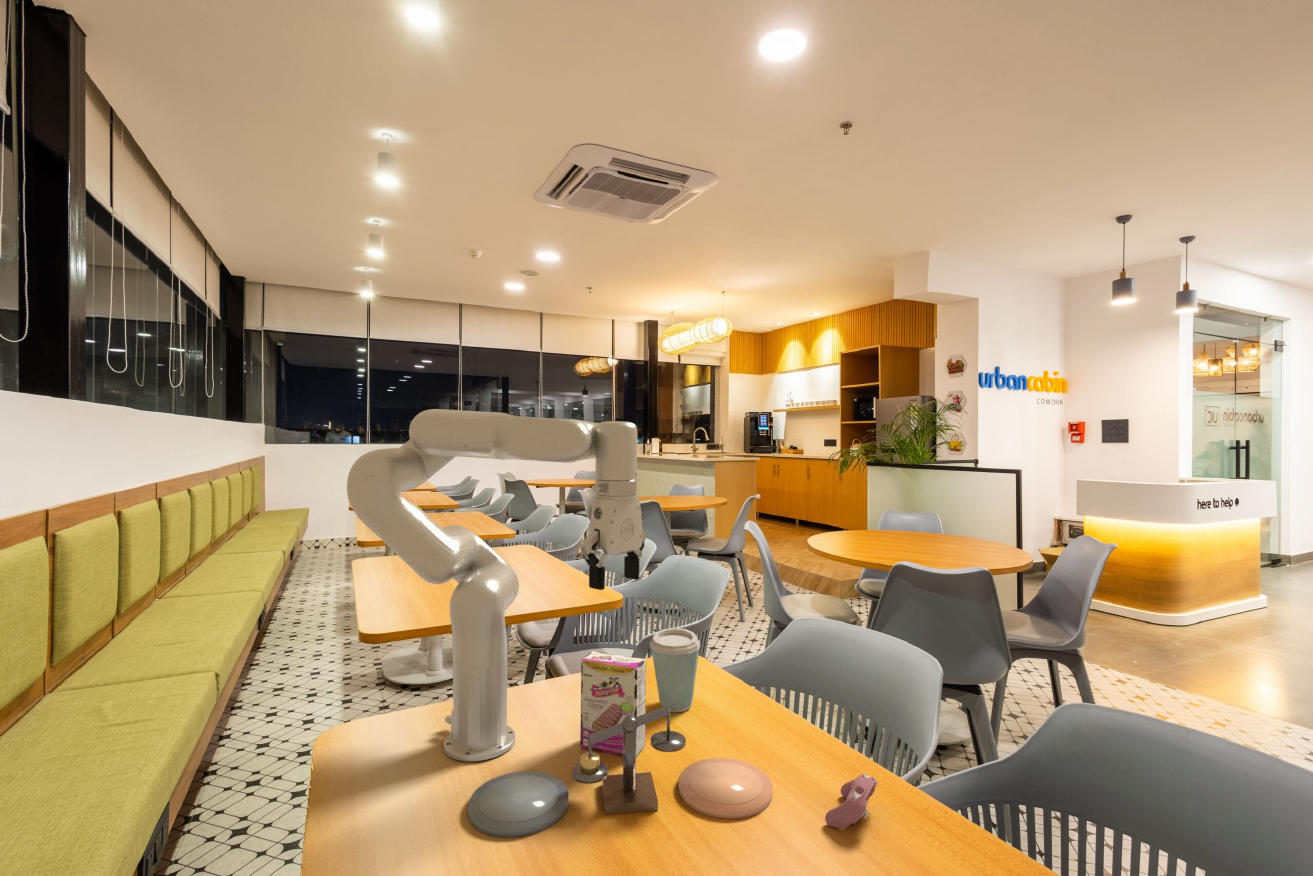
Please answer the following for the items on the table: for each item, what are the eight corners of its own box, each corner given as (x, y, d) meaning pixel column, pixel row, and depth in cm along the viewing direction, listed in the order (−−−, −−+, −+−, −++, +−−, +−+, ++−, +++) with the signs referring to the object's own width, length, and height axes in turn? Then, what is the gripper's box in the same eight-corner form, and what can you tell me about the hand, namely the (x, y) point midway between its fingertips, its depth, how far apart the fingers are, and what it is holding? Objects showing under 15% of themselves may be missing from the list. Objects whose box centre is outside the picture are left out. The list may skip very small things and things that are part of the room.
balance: (571, 817, 92) (572, 724, 92) (571, 787, 100) (572, 701, 100) (689, 808, 95) (690, 717, 95) (680, 779, 103) (681, 695, 103)
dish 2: (660, 794, 98) (660, 786, 98) (709, 755, 110) (710, 748, 110) (743, 832, 89) (743, 823, 89) (788, 785, 101) (788, 777, 101)
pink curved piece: (848, 846, 89) (872, 810, 87) (821, 822, 91) (843, 787, 89) (865, 811, 97) (887, 777, 96) (839, 790, 99) (860, 756, 98)
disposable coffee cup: (701, 718, 125) (702, 644, 125) (648, 717, 125) (648, 643, 125) (698, 695, 136) (699, 627, 135) (649, 695, 136) (650, 626, 136)
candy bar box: (578, 749, 112) (579, 659, 112) (590, 736, 117) (591, 650, 117) (636, 760, 109) (637, 667, 108) (646, 746, 113) (647, 657, 113)
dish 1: (447, 811, 94) (447, 802, 94) (523, 768, 106) (523, 760, 106) (513, 852, 85) (513, 842, 85) (588, 800, 97) (588, 792, 97)
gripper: (599, 494, 103) (598, 596, 103) (660, 487, 117) (659, 577, 117) (567, 491, 108) (566, 589, 108) (629, 485, 122) (628, 572, 122)
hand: (614, 583), depth 113 cm, fingers open, 9 cm apart
